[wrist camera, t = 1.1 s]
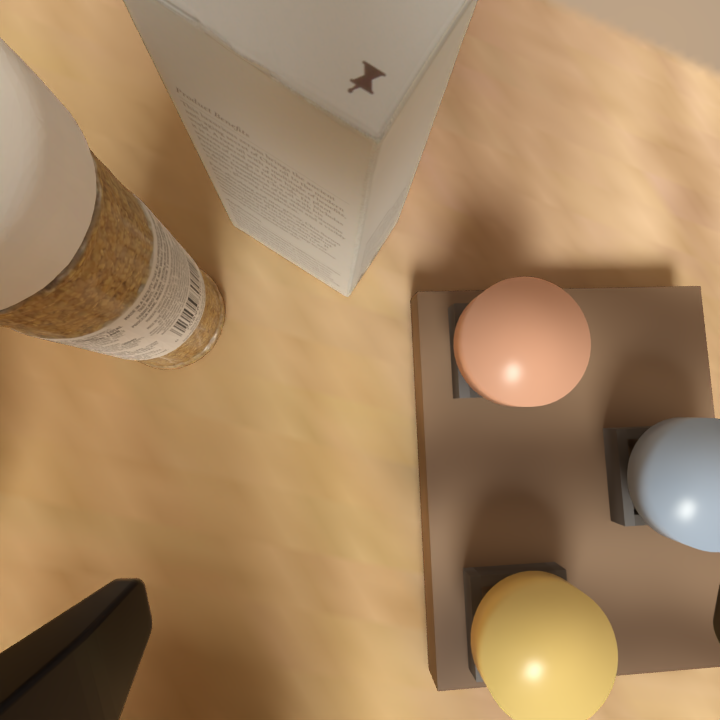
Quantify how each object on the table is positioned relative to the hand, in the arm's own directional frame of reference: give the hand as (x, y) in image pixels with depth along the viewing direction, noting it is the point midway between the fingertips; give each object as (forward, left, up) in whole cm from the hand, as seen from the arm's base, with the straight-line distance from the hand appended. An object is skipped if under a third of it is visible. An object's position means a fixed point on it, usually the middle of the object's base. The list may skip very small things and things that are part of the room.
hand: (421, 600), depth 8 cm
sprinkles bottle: (+7, +8, -12) cm, 16 cm away
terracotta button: (+5, -5, -10) cm, 12 cm away
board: (0, -8, -12) cm, 15 cm away
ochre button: (-5, -5, -10) cm, 12 cm away
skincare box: (+11, +2, -12) cm, 17 cm away
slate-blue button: (0, -11, -10) cm, 15 cm away
